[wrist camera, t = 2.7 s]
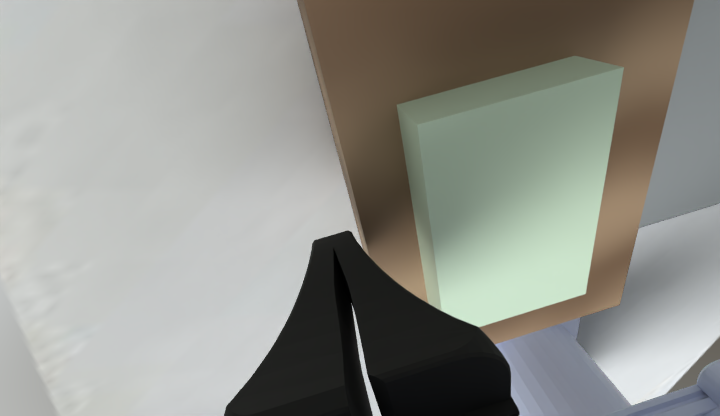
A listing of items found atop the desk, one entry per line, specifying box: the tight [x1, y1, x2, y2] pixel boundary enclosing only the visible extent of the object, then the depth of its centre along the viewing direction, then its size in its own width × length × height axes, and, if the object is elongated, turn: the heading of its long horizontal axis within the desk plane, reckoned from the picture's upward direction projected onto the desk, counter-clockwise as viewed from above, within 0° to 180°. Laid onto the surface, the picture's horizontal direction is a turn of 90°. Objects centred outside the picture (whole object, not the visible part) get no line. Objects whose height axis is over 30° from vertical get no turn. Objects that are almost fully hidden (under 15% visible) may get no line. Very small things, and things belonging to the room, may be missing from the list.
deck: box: [297, 0, 694, 344], centre depth 16 cm, size 18×12×4 cm, turn 12°
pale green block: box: [397, 56, 624, 327], centre depth 13 cm, size 9×6×2 cm, turn 12°
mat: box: [639, 0, 720, 228], centre depth 18 cm, size 16×12×1 cm
